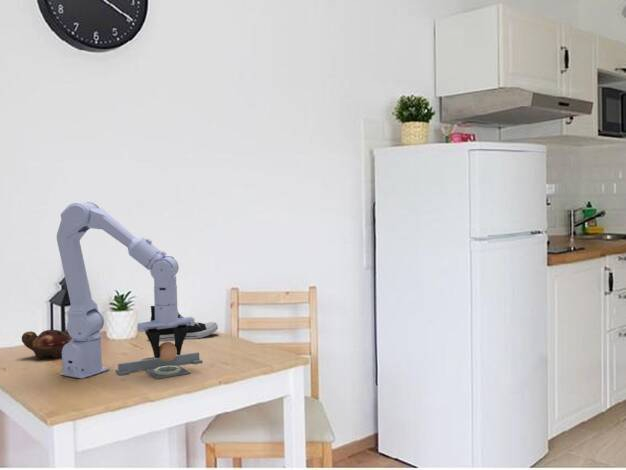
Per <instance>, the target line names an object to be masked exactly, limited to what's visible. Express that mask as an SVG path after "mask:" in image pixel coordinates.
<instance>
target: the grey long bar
mask: <svg viewBox="0 0 626 470" xmlns="http://www.w3.org/2000/svg"><path fill="white" fill-rule="evenodd" d="M202 363H203V360H202V359H200V352H199V351H197V352H196V351H195V352H189V353H182V354H180V355H176V357H175V358H174V359H173V360H171V361H168V362H165V361H162V360H161V359H160V358H154V359H147V360H142V359H140V360H135V361H128V362H122V363H117V369H115V373H116V374H117V373H118V376H120V375H121V376H126V375H125V374H127V375H130V373H134V372H133V371H136V372H140V371H139V370H142V371H145V370H147V369H148V370H149V369H155V368H158V367H162V366H175V365H179V366H180V365H185V364H193V365H197V364H202Z"/></svg>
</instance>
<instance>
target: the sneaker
mask: <svg viewBox="0 0 626 470" xmlns="http://www.w3.org/2000/svg"><path fill="white" fill-rule="evenodd" d="M150 315H151V316H150V321H154V320H155V305H150ZM177 315H178V318H185V317H183V315H182V314H180V313H179V310H178V308H177ZM217 323H218V322H217ZM217 323H216V322H215V321H214V322H213V321H209V322H205V323H202V322H198V321H197V322H195V321H194V325H193V326H190V325H189V326H187V327H188V333H187V334H186V336H185V339H184V340H188V339H189V340H195V339H201V338H202V339H203V338H205V337H209V336H210V335H212V334H214V333H215V332H216V331H218V329H219V328H218V324H217ZM157 331H158V333H160V339H159V342H163V341H164V342H167V341H175V338H174V330H173V328H165V329H157ZM147 339H148V338H147ZM148 341H149V339H148Z"/></svg>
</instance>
